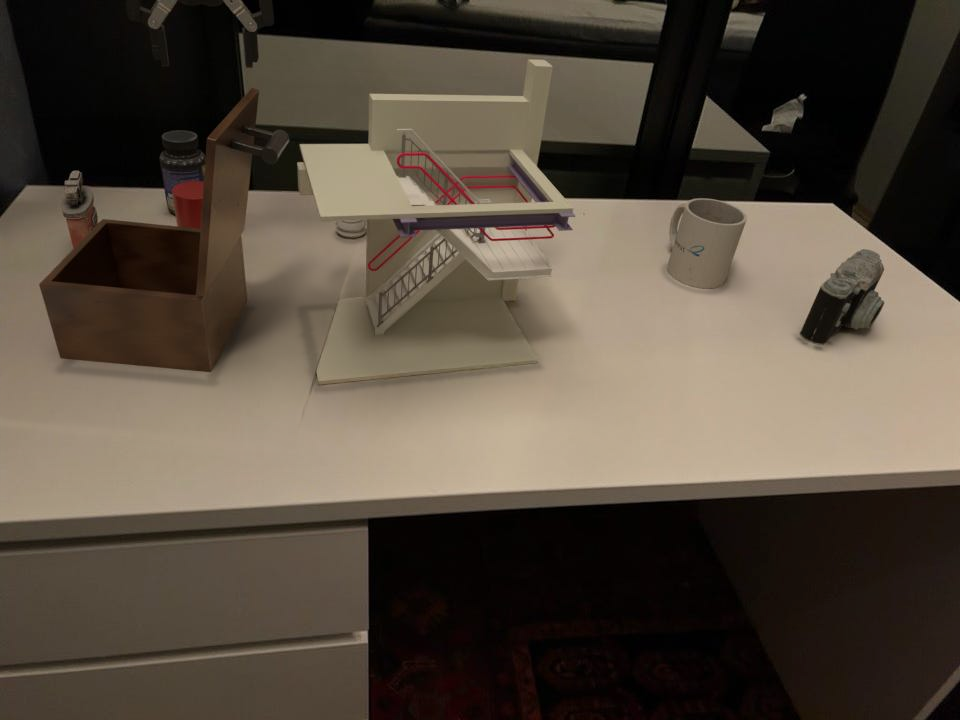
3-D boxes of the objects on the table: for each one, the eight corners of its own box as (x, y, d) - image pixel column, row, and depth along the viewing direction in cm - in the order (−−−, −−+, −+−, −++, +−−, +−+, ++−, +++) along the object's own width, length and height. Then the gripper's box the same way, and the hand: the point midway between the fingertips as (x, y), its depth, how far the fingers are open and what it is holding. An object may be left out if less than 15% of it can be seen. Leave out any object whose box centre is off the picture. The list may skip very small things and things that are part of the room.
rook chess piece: (350, 222, 111) (350, 171, 106) (372, 232, 109) (373, 181, 104) (329, 231, 108) (328, 180, 103) (351, 242, 106) (351, 190, 101)
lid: (206, 137, 63) (267, 154, 64) (251, 87, 75) (302, 101, 76) (195, 295, 72) (249, 307, 73) (237, 228, 84) (282, 239, 85)
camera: (844, 358, 95) (877, 292, 89) (794, 335, 98) (823, 269, 92) (881, 318, 104) (913, 256, 98) (835, 298, 108) (863, 237, 102)
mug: (735, 288, 107) (757, 225, 101) (680, 288, 105) (700, 225, 99) (699, 247, 117) (718, 188, 111) (649, 247, 115) (665, 187, 109)
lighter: (100, 266, 94) (84, 193, 88) (70, 268, 93) (52, 194, 87) (106, 237, 100) (91, 166, 94) (79, 238, 99) (62, 166, 93)
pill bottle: (217, 214, 108) (209, 141, 102) (174, 221, 105) (163, 146, 99) (203, 197, 112) (194, 126, 106) (162, 204, 109) (150, 130, 103)
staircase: (321, 397, 78) (313, 114, 60) (302, 304, 92) (291, 51, 74) (559, 372, 86) (614, 116, 68) (509, 290, 100) (544, 60, 82)
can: (174, 252, 98) (165, 196, 94) (188, 232, 103) (180, 178, 98) (216, 256, 99) (209, 201, 94) (228, 237, 103) (223, 183, 99)
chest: (61, 364, 78) (38, 284, 72) (118, 292, 90) (102, 218, 84) (211, 377, 79) (200, 299, 73) (248, 304, 90) (241, 232, 85)
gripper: (103, -114, 65) (135, 75, 75) (269, -100, 69) (279, 76, 79) (108, -123, 71) (137, 54, 80) (262, -110, 75) (272, 56, 85)
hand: (208, 65), depth 80 cm, fingers open, 8 cm apart
